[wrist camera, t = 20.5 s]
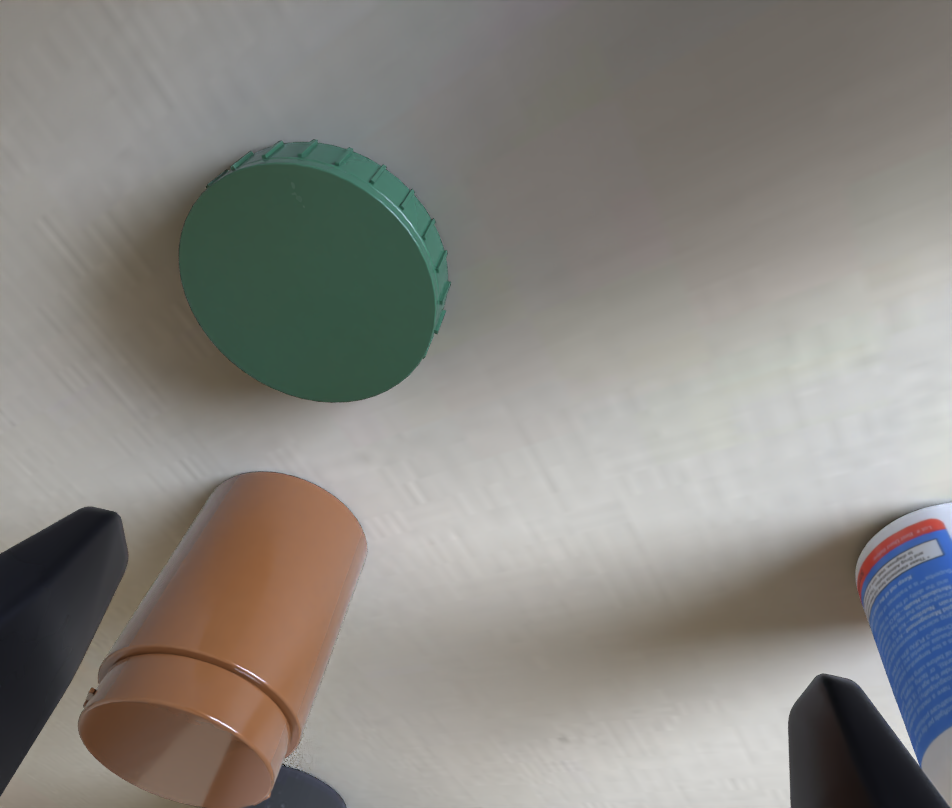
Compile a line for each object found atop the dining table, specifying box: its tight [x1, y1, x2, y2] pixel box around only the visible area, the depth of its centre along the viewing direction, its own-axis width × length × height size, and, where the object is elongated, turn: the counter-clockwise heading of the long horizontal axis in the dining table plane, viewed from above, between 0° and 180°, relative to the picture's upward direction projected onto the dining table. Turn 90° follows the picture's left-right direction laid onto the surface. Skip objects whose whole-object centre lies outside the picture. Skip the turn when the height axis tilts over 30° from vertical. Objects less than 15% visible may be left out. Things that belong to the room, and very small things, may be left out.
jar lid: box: [179, 139, 451, 403], centre depth 19 cm, size 7×7×2 cm
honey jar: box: [78, 472, 367, 808], centre depth 23 cm, size 6×6×8 cm
